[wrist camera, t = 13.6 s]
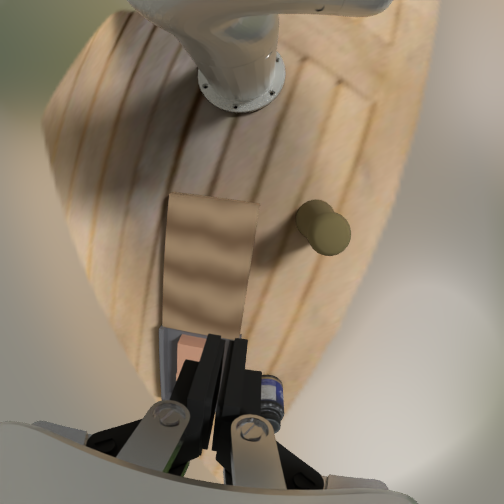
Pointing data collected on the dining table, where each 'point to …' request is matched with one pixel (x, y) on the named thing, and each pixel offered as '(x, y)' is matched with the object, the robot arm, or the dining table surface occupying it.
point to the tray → (175, 357)
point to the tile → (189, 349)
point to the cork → (323, 227)
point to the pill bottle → (272, 401)
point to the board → (207, 263)
